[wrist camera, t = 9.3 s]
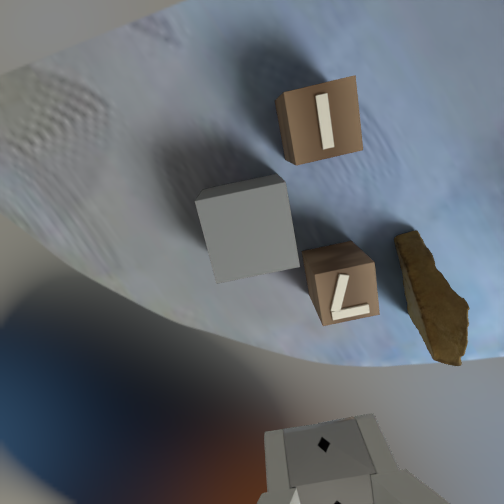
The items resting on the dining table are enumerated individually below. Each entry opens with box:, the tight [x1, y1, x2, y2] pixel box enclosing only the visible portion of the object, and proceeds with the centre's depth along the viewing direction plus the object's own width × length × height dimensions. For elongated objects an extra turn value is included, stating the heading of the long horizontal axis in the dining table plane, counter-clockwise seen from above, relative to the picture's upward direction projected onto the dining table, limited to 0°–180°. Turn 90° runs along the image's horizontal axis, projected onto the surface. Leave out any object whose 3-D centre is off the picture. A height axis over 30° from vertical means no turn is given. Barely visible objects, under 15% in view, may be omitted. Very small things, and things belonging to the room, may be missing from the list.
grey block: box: [195, 174, 300, 284], centre depth 29 cm, size 7×7×6 cm
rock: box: [394, 230, 469, 366], centre depth 32 cm, size 11×9×10 cm
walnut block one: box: [275, 76, 363, 165], centre depth 26 cm, size 5×5×6 cm
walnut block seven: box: [302, 241, 380, 326], centre depth 31 cm, size 5×5×6 cm
